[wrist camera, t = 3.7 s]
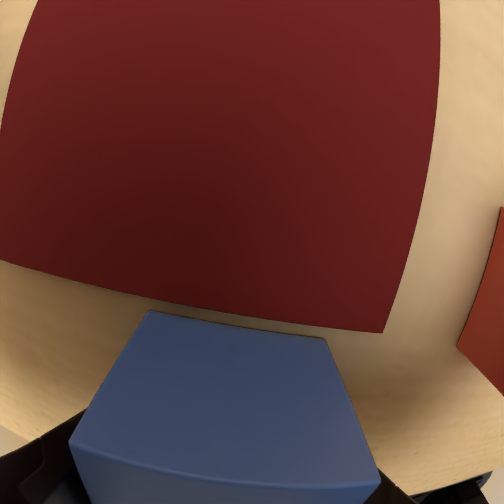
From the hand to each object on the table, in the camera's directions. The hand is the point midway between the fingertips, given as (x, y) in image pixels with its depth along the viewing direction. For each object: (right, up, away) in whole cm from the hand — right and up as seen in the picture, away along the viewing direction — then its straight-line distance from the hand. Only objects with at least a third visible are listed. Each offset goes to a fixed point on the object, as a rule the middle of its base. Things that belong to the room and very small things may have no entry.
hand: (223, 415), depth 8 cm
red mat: (0, +9, -1) cm, 9 cm away
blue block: (0, 0, +1) cm, 1 cm away
